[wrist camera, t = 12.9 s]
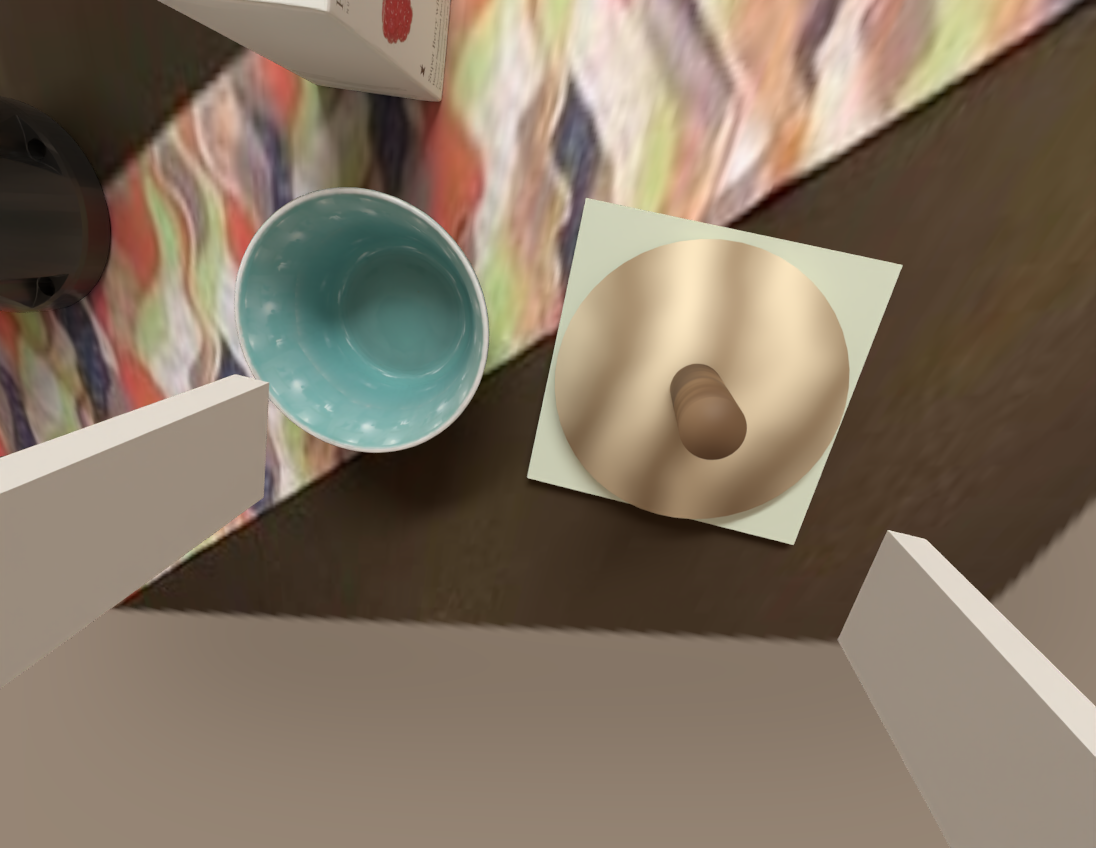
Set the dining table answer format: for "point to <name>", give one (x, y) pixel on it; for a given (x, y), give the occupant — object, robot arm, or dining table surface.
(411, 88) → the supplement box
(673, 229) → the mat
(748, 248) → the lid
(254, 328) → the bowl
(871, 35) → the dining table surface
